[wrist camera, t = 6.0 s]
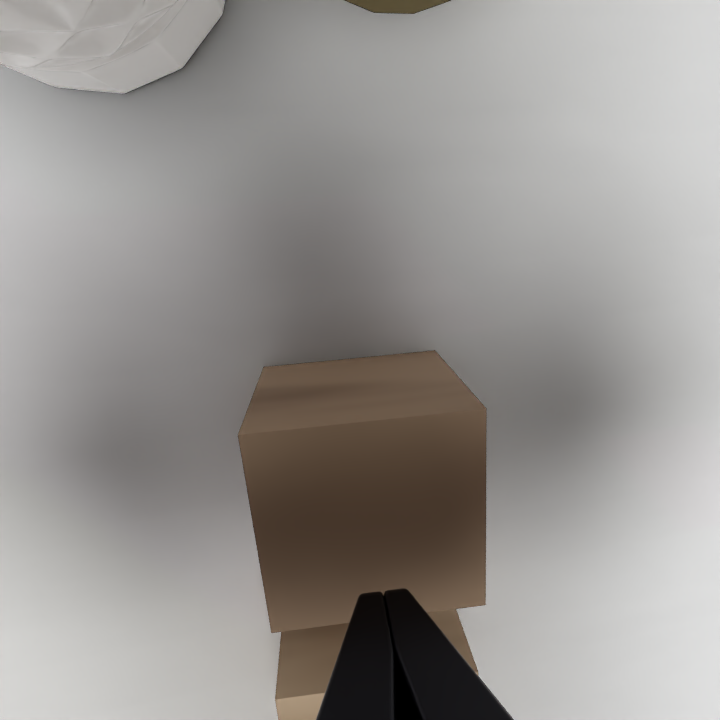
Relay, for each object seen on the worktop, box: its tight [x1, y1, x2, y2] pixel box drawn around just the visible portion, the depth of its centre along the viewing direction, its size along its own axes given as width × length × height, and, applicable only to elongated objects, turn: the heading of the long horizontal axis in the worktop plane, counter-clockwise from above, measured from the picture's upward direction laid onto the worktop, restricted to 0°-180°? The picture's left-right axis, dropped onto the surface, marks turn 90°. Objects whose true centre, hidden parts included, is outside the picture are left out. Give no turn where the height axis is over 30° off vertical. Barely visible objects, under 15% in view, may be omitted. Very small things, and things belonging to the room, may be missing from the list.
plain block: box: [238, 350, 486, 633], centre depth 12 cm, size 5×5×4 cm
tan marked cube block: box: [275, 609, 478, 720], centre depth 14 cm, size 5×5×5 cm
